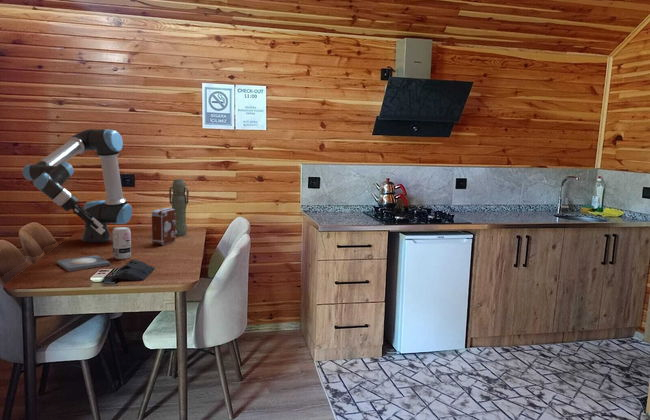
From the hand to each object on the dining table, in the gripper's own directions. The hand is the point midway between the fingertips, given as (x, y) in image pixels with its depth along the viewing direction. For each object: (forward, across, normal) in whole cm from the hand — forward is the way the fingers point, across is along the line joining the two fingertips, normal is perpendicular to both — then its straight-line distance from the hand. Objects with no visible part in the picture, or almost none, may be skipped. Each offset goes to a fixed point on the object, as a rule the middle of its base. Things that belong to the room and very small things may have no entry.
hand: (102, 230), depth 231 cm
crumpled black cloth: (+18, +33, -4) cm, 38 cm away
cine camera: (+35, -30, +15) cm, 49 cm away
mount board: (+4, +7, -17) cm, 19 cm away
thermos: (+43, -50, +23) cm, 70 cm away
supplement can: (+17, -1, -4) cm, 17 cm away
